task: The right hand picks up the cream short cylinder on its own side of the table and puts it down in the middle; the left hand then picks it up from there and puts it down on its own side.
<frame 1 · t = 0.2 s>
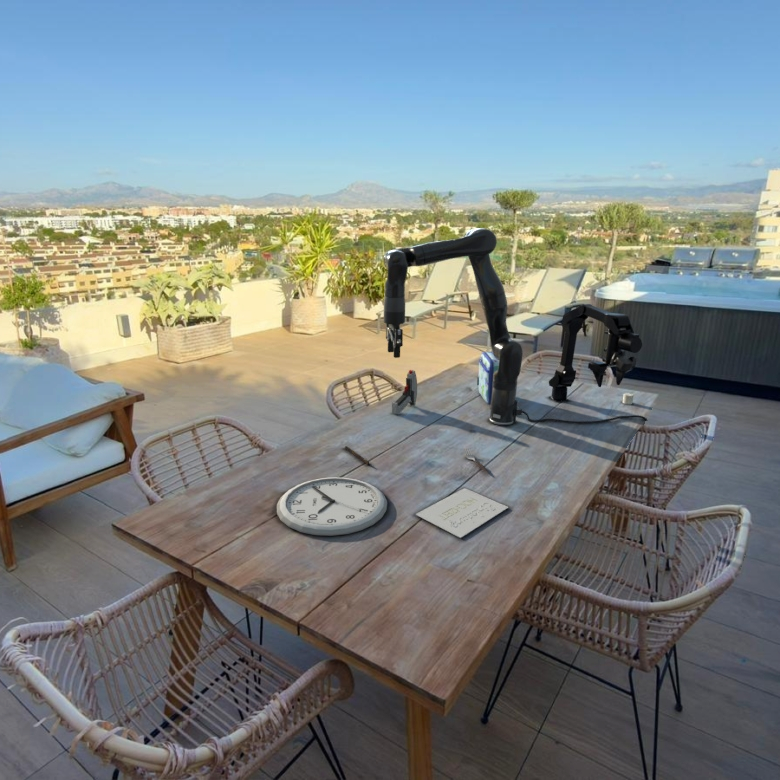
left hand: (393, 354, 187), 29 cm above the table, tool pointing down, fingers open, 8 cm apart
right hand: (608, 385, 206), 15 cm above the table, tool pointing down, fingers open, 9 cm apart
wall clock: (332, 505, 143), on the table
cream short cylinder: (627, 403, 232), on the table
brown thin stick: (356, 456, 173), on the table
fork: (476, 464, 169), on the table
lunch box: (491, 399, 234), on the table
toy gun: (404, 410, 218), on the table
invitation card: (462, 511, 141), on the table
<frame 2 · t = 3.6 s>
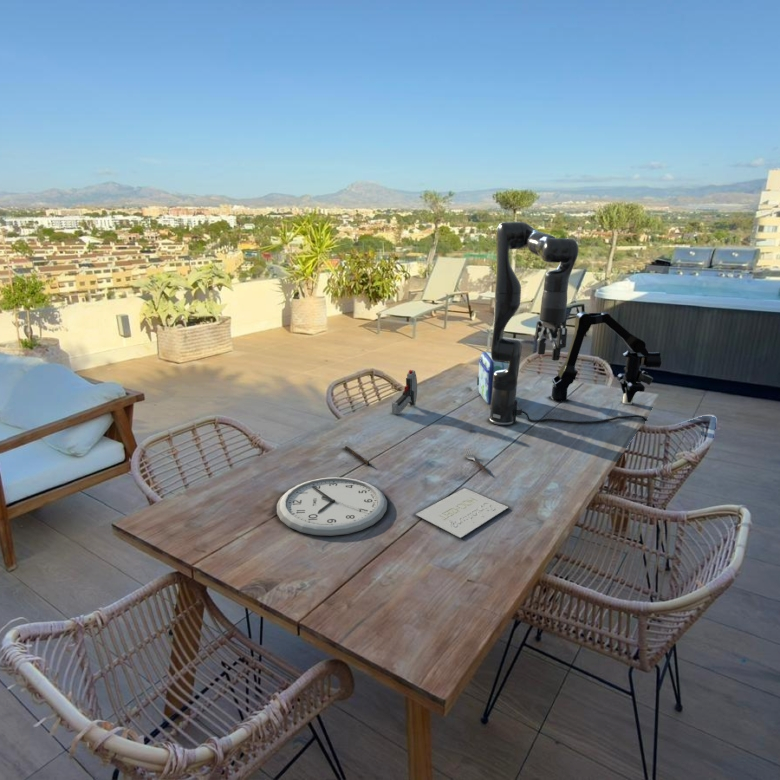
left hand: (547, 357, 165), 34 cm above the table, tool pointing down, fingers open, 8 cm apart
right hand: (627, 400, 232), 1 cm above the table, tool pointing down, fingers closed on cream short cylinder, 4 cm apart
cream short cylinder: (627, 403, 232), on the table, touching right hand
everything else where it was.
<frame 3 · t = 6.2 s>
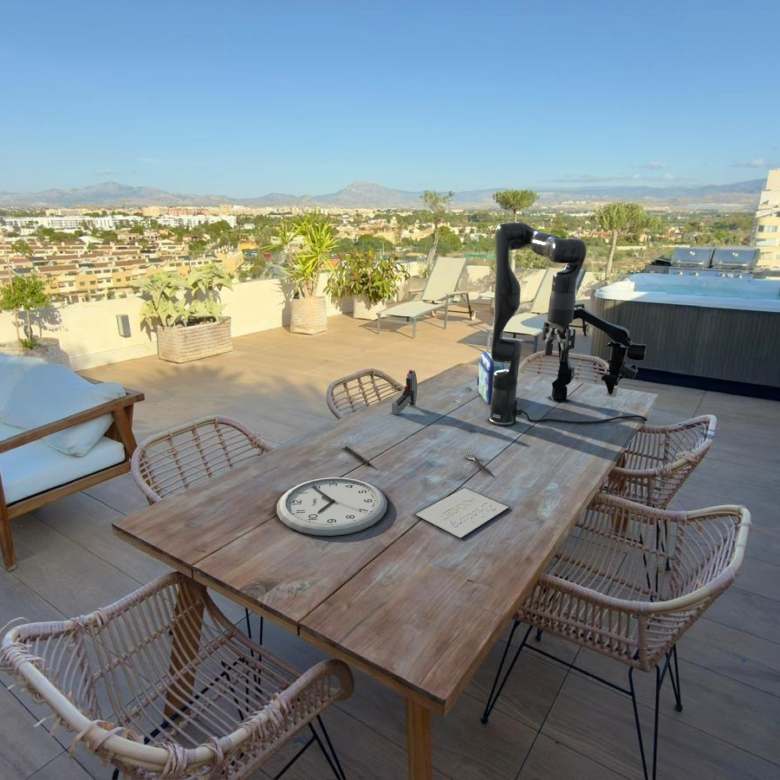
left hand: (555, 358, 165), 34 cm above the table, tool pointing down, fingers open, 8 cm apart
right hand: (611, 393, 223), 7 cm above the table, tool pointing down, fingers closed on cream short cylinder, 4 cm apart
cream short cylinder: (611, 395, 224), point 6 cm above the table, touching right hand
everything else where it was.
when the right hand's fingers open (2 cm above the table, at t = 8.9 s): cream short cylinder drops 1 cm, on the table.
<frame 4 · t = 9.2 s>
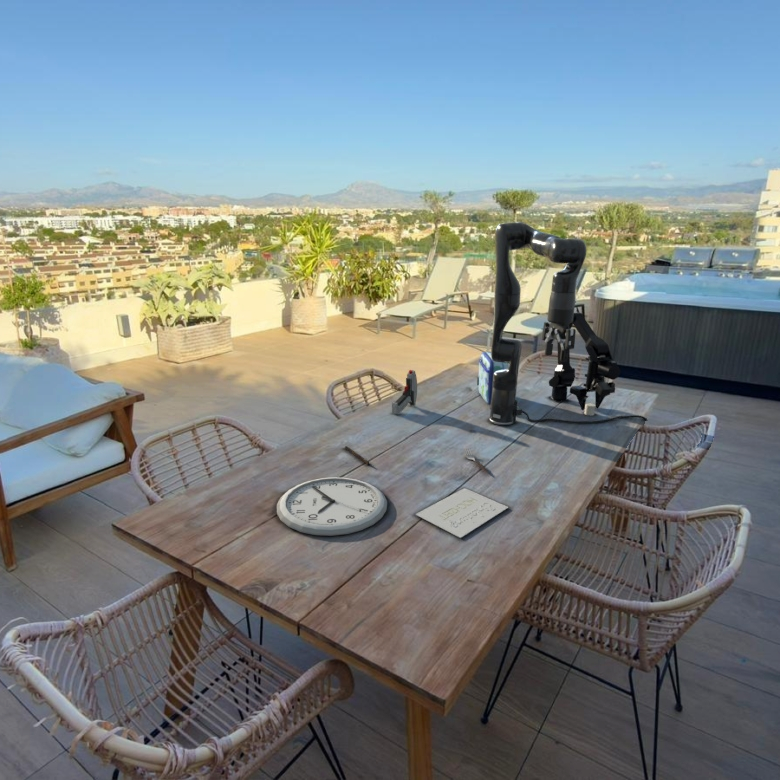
left hand: (555, 358, 165), 34 cm above the table, tool pointing down, fingers open, 8 cm apart
right hand: (589, 409, 217), 2 cm above the table, tool pointing down, fingers open, 7 cm apart
cream short cylinder: (589, 414, 217), on the table
everything else where it was.
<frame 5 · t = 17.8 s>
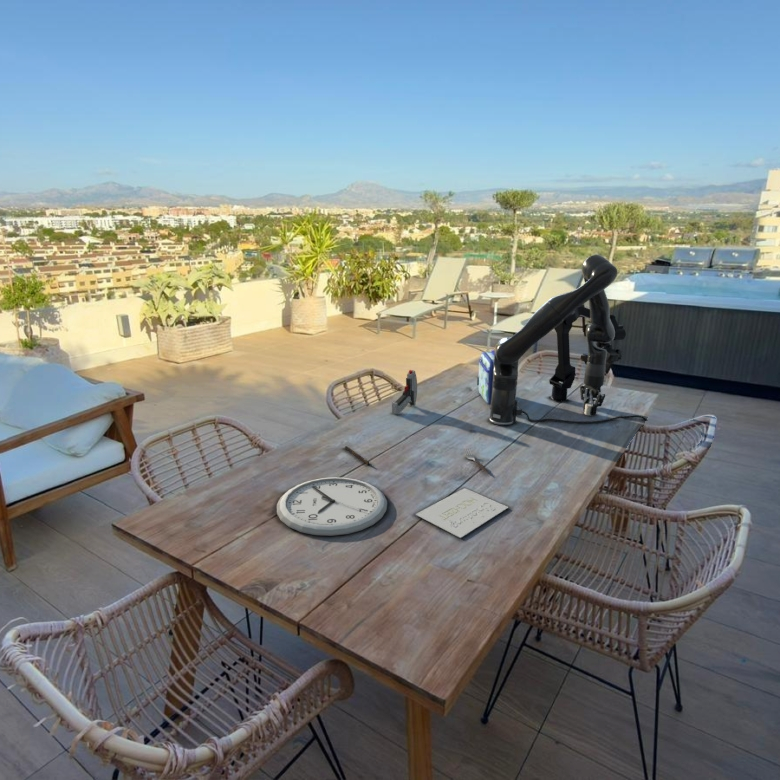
left hand: (589, 412, 217), 0 cm above the table, tool pointing down, fingers closed on cream short cylinder, 4 cm apart
right hand: (598, 374, 241), 9 cm above the table, tool pointing down, fingers open, 9 cm apart
cream short cylinder: (589, 414, 217), on the table, touching left hand
everything else where it was.
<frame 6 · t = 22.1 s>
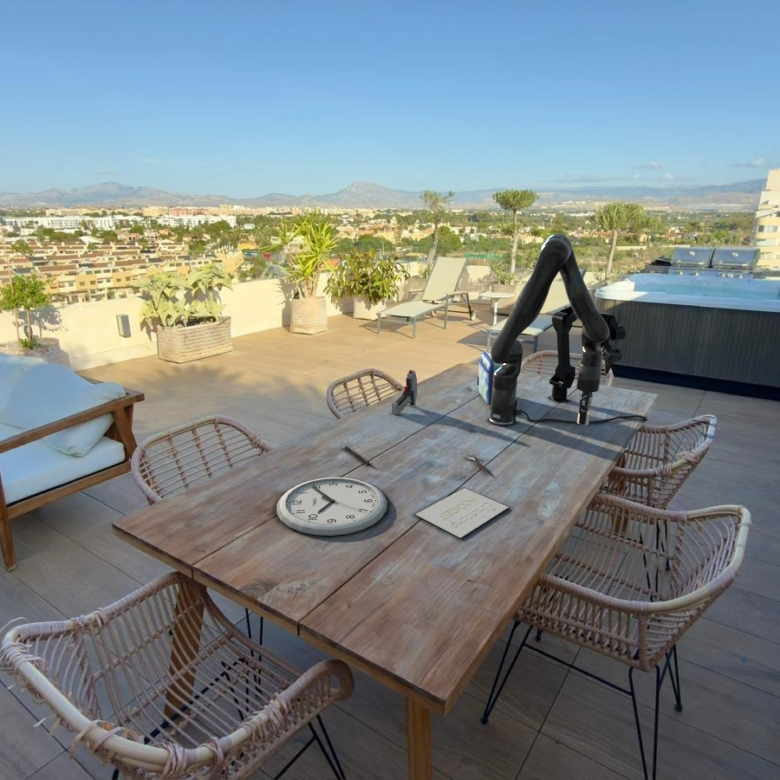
left hand: (582, 421, 190), 6 cm above the table, tool pointing down, fingers closed on cream short cylinder, 4 cm apart
right hand: (598, 374, 241), 9 cm above the table, tool pointing down, fingers open, 9 cm apart
cream short cylinder: (582, 423, 191), point 6 cm above the table, touching left hand
everything else where it was.
when the left hand's fingers open (1 cm above the table, at t = 26.7 s): cream short cylinder drops 1 cm, on the table.
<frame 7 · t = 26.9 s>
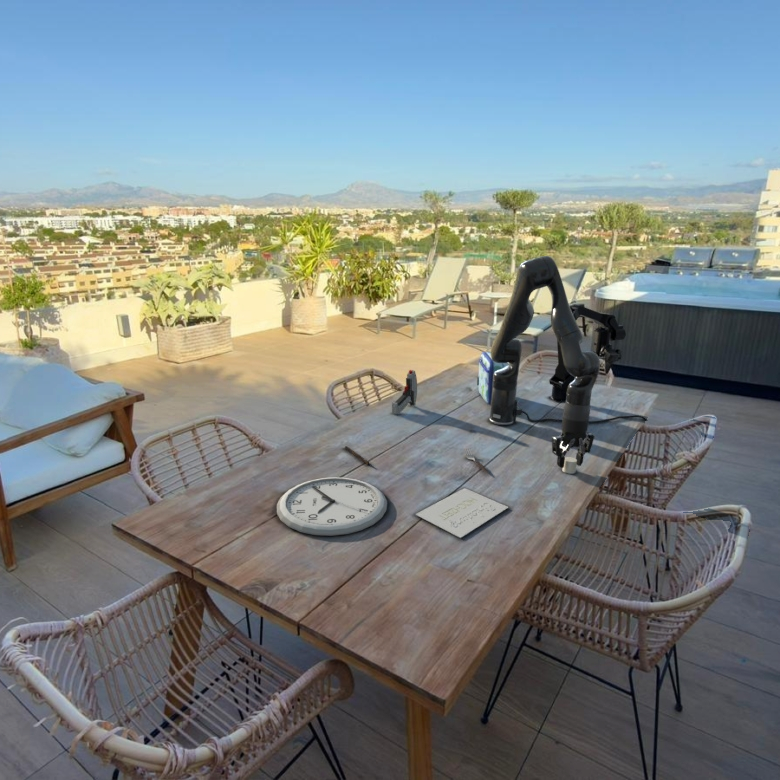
left hand: (569, 465, 165), 2 cm above the table, tool pointing down, fingers open, 6 cm apart
right hand: (598, 374, 241), 9 cm above the table, tool pointing down, fingers open, 9 cm apart
cream short cylinder: (568, 470, 166), on the table
everything else where it was.
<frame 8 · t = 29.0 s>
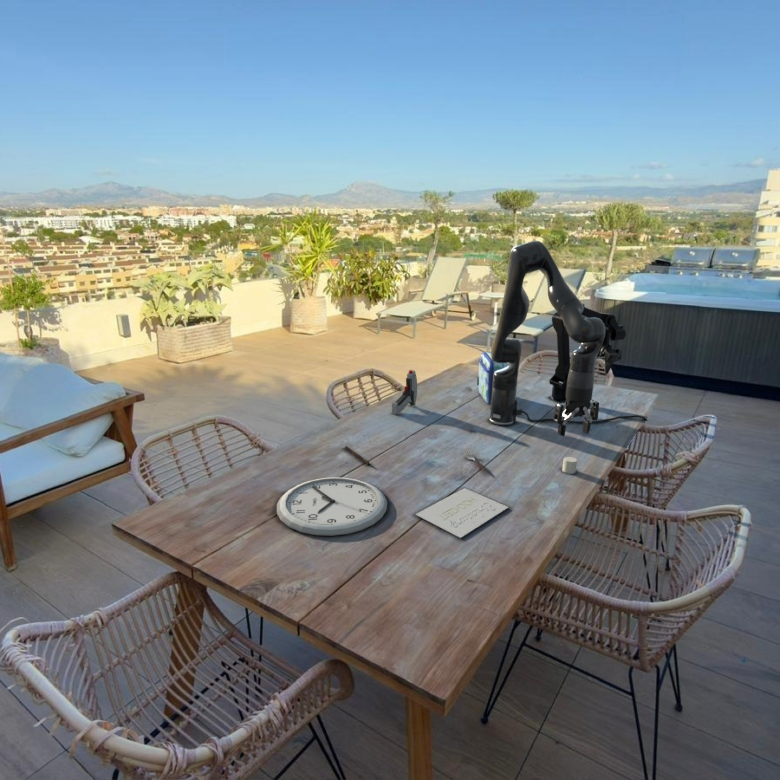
left hand: (573, 434, 162), 12 cm above the table, tool pointing down, fingers open, 8 cm apart
right hand: (598, 374, 241), 9 cm above the table, tool pointing down, fingers open, 9 cm apart
nothing on the table moved.
at the end: cream short cylinder inside the target area (0.0 cm from its centre), on the table; cream short cylinder tilted 0°; the two hands never held the cream short cylinder at the same time; the left hand is holding nothing; the right hand is holding nothing; cream short cylinder at rest at the end (0.0 cm/s) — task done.
